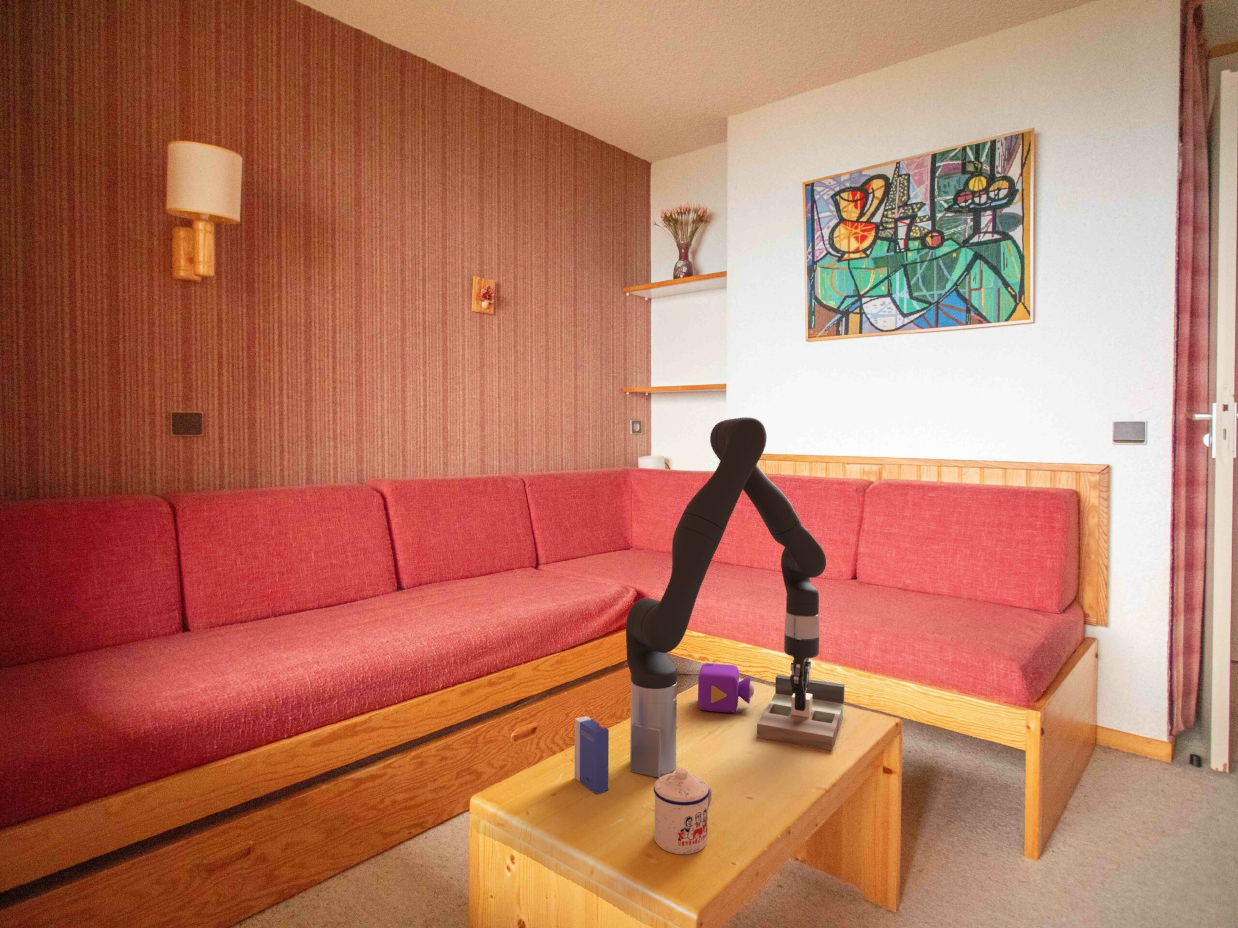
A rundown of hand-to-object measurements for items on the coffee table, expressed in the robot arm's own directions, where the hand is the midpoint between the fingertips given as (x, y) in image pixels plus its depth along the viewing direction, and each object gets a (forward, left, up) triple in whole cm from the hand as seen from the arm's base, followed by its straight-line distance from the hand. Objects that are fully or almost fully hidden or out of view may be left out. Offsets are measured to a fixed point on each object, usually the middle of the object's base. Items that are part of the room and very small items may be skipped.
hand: (800, 709), depth 158 cm
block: (+4, 0, -2) cm, 4 cm away
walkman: (-41, +32, -5) cm, 52 cm away
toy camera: (+7, +19, -6) cm, 21 cm away
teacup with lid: (-50, +10, -5) cm, 51 cm away
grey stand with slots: (+4, 0, -5) cm, 7 cm away
